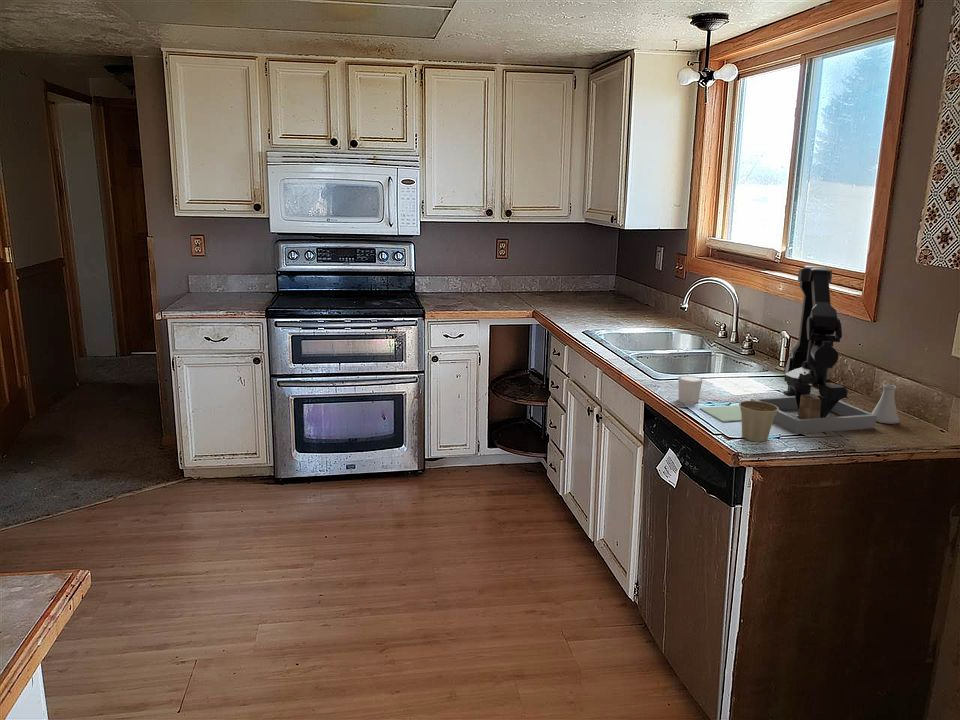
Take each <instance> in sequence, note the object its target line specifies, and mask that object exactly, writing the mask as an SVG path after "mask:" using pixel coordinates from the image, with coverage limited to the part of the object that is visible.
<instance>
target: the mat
mask: <svg viewBox="0 0 960 720" xmlns="http://www.w3.org/2000/svg"><path fill="white" fill-rule="evenodd" d="M699 410H700V411H702V412H704V413H706V414H708V415H709V416H711V417H713V418H715V419H717V420H718V421H720V422H722V423H730V422H729V421H735V422H742V416H741V411H740V406H739V405H725V406H723V405H722V406H708V407H699Z"/></svg>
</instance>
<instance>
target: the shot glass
mask: <svg viewBox="0 0 960 720" xmlns="http://www.w3.org/2000/svg"><path fill="white" fill-rule="evenodd" d="M677 378H678V385H677V386H678V402H680V403H682V404H687V405H693V404H697V403H699V400H700V399H699V398H700V394H701V389H702V385H703V384H702V383H703V378H701V377H699V376H694V375H681V376H678V377H677Z"/></svg>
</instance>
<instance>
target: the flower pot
mask: <svg viewBox="0 0 960 720" xmlns="http://www.w3.org/2000/svg"><path fill="white" fill-rule="evenodd" d="M738 406H739V407H740V411H741V416H742V421H741V437H742V438H743V439H744V440H745V439H747V440H748V441H750V442H755V443H762V442H763V443H764V441H765V442H767V441H768V439H769V436H770V432H771V429H772V427H773V426H772V425H773V423H774V422H773V419H774V416H775V415H776V412H777V411H778V410H779V408H778V407H777V406H775V405H773V404H770V403H766V402H761V401H751V400H743V401H740V402H739V403H738Z"/></svg>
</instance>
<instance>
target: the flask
mask: <svg viewBox="0 0 960 720" xmlns="http://www.w3.org/2000/svg"><path fill="white" fill-rule="evenodd" d="M882 386H883V391H882V394H881V396H880V399H879V400H878V402H877V404H876V405H875V407H874V409H873V410H872V412H871V413H872V414H874V415H876V416H877V418H876V423H880V424H891V425H894V424H900V418H899V417H900V416H899V415H898V410H897V405H896V401H895V399H896V398H895V393H896V392H895V391H896V389H897V386H896V385H893V384H883V385H882Z"/></svg>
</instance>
